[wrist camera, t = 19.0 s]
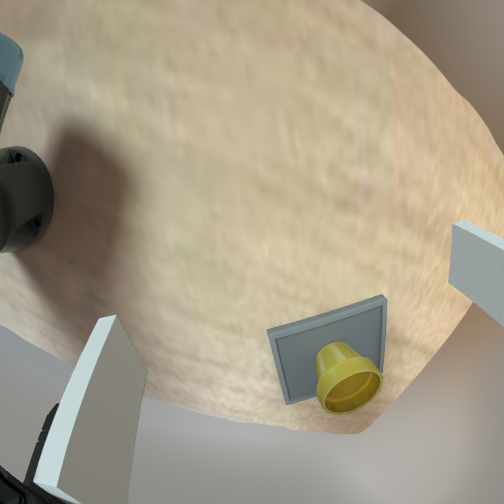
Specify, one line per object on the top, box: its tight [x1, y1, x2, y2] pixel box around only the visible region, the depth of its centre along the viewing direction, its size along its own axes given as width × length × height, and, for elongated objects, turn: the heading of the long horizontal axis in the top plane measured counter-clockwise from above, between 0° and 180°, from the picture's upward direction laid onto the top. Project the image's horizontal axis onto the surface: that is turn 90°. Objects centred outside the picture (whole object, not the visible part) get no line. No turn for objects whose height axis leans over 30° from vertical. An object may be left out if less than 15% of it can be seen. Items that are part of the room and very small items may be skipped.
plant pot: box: [315, 342, 383, 415], centre depth 44 cm, size 10×10×10 cm
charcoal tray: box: [267, 294, 387, 405], centre depth 48 cm, size 20×18×2 cm
